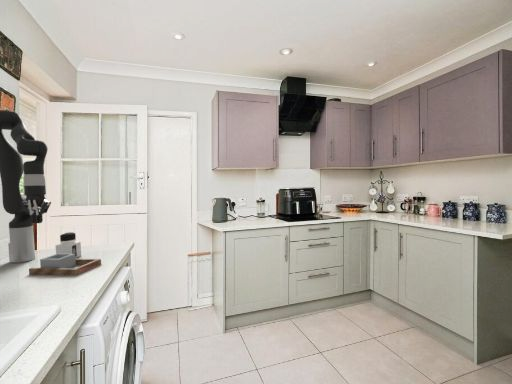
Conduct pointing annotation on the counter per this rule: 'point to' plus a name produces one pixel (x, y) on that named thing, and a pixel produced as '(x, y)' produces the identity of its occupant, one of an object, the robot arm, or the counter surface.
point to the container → (68, 245)
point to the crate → (58, 261)
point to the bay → (85, 263)
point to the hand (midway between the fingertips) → (37, 222)
